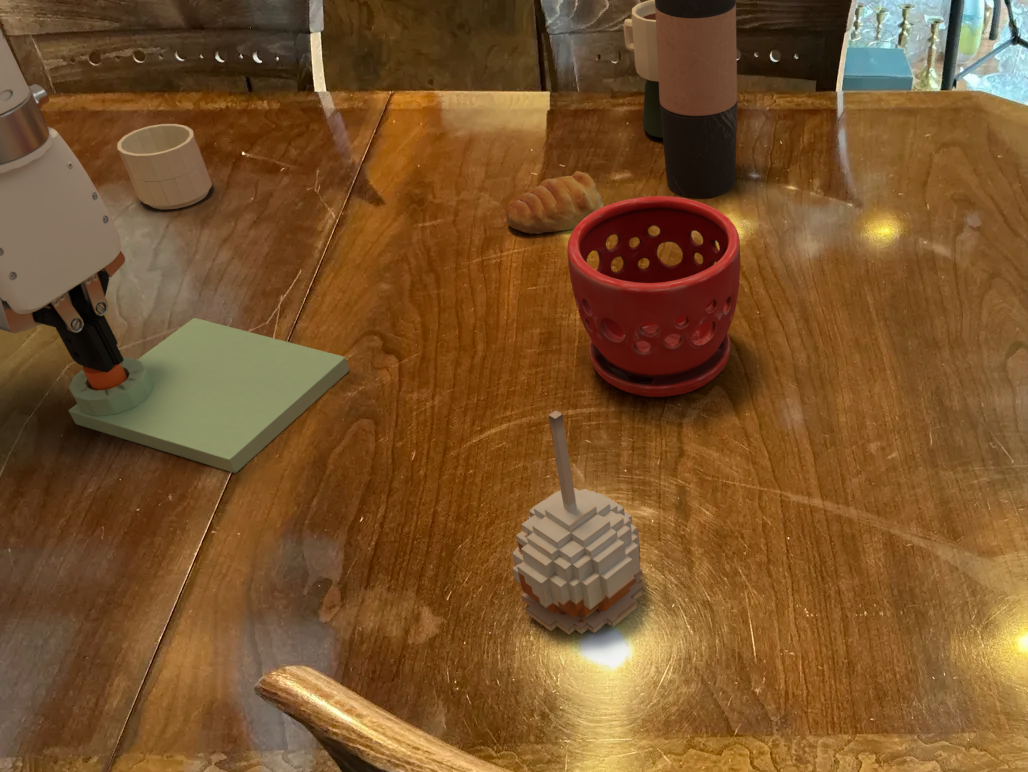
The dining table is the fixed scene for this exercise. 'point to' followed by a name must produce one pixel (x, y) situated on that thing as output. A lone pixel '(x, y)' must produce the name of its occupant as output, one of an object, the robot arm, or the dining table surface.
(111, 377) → the tare button
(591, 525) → the candy apple
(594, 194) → the pastry
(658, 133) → the character mug
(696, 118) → the travel mug
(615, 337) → the flower pot
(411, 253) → the dining table surface
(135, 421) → the scale
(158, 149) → the white cup
